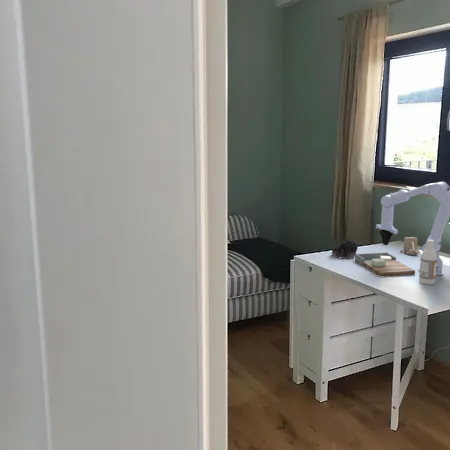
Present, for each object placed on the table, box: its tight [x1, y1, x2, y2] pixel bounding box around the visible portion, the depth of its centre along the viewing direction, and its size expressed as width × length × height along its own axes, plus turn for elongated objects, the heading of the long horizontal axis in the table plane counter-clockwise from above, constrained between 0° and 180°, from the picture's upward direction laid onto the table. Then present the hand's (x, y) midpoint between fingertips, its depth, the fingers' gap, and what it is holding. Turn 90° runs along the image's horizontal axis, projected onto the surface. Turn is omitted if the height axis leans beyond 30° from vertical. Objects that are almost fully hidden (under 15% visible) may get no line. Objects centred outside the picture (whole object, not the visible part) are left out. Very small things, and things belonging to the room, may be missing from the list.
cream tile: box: [380, 256, 392, 261], centre depth 266 cm, size 5×5×2 cm
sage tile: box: [371, 259, 386, 267], centre depth 255 cm, size 5×5×2 cm
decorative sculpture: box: [399, 236, 420, 256], centre depth 286 cm, size 16×10×7 cm, turn 164°
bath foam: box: [418, 239, 437, 286], centre depth 233 cm, size 7×7×20 cm
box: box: [354, 251, 397, 266], centre depth 267 cm, size 10×18×4 cm, turn 101°
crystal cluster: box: [331, 238, 359, 259], centre depth 279 cm, size 13×14×10 cm
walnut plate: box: [362, 259, 416, 277], centre depth 253 cm, size 18×18×2 cm
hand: (385, 244), depth 262 cm, fingers closed
